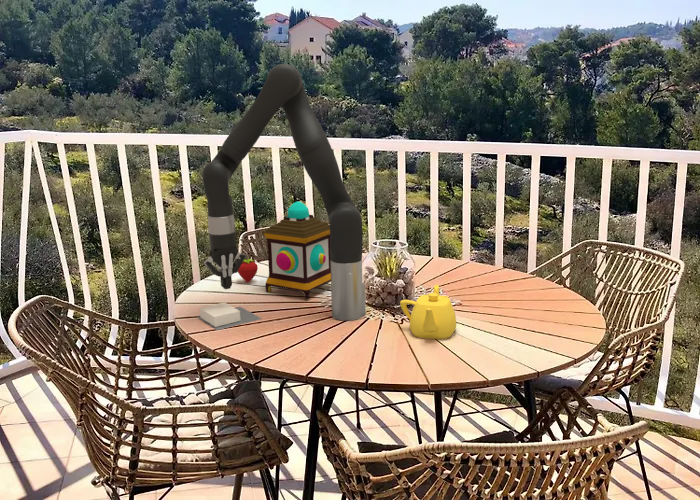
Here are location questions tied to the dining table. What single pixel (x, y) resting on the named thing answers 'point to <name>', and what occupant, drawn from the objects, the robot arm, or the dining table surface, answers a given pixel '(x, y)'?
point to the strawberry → (248, 270)
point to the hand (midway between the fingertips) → (226, 288)
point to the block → (220, 314)
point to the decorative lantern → (298, 252)
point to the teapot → (431, 316)
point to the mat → (244, 318)
